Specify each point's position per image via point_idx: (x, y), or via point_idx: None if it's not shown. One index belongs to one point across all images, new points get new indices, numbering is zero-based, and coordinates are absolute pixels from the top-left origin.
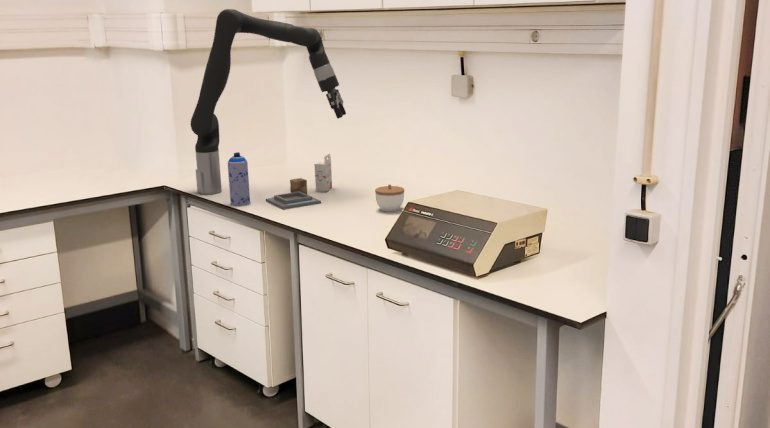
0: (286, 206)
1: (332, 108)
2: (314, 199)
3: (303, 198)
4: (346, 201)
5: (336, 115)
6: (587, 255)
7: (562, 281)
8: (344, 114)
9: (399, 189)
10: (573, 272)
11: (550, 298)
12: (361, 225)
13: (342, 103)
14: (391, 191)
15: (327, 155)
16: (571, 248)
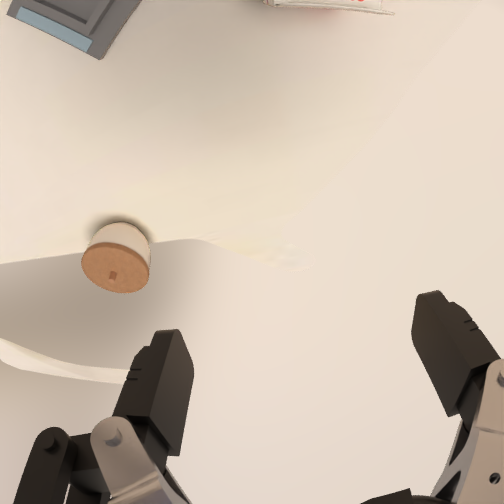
0: (13, 17)
1: (56, 434)
2: (105, 33)
3: (64, 22)
4: (150, 116)
5: (150, 356)
6: (91, 377)
7: (35, 364)
8: (413, 325)
9: (119, 288)
10: (53, 369)
11: (10, 357)
12: (14, 227)
13: (469, 432)
14: (95, 280)
15: (344, 8)
16: (99, 374)
